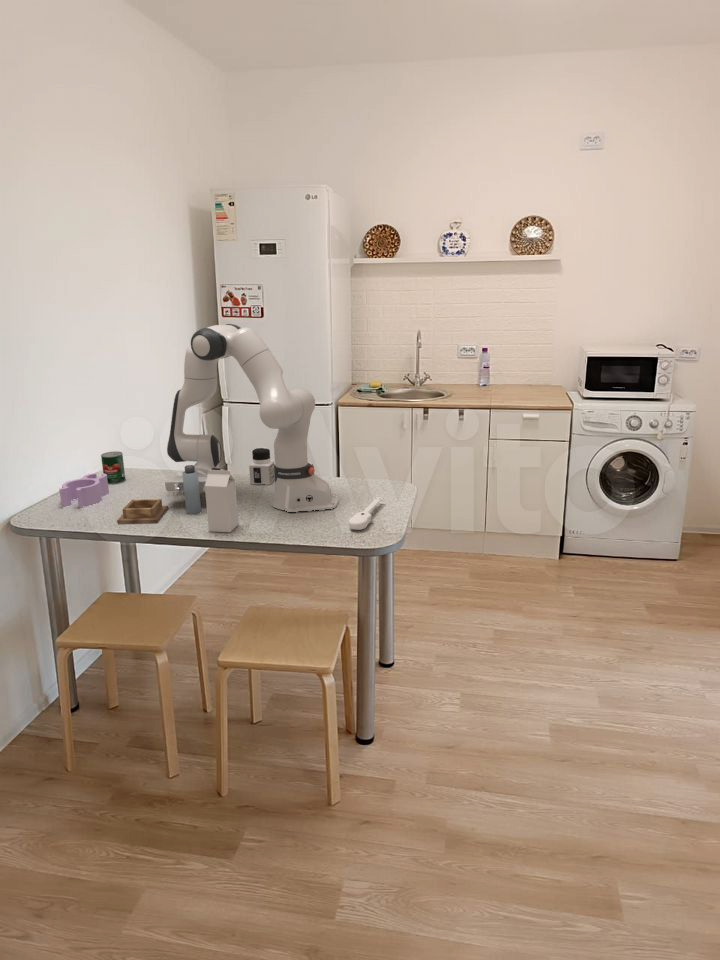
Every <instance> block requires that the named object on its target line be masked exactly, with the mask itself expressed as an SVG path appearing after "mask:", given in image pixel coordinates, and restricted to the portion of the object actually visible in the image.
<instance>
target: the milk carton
mask: <svg viewBox="0 0 720 960" xmlns="http://www.w3.org/2000/svg"><path fill="white" fill-rule="evenodd" d="M223 470H224V469H223ZM223 470H208V476H207V480H206V483H205V492H204V493H205V501H206V502H205V504H206V513H207V514H206V515H207V525H208V532H214V533H215V532H216V533H231V532H232V531H233V530H235V528H237V526H239V516H238V515H239V514H238V502H237V490H236V479H235V478H234V477H233V476H232V473H231V470H224V471H223Z"/></svg>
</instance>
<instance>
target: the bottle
mask: <svg viewBox="0 0 720 960" xmlns="http://www.w3.org/2000/svg"><path fill="white" fill-rule="evenodd" d="M194 465H195V464H188V465H187V464H186V465H185V466H184V471H182V472H181V474H182V475H181V476H183V485H184V491H183V493H184V495H183V496H184V503H185V504H184V505H185V512H186V515H189V514H195V515H199V514H201V513H202V504H201V503H202V502H201V493H200V492H201V491H200V490H199V479H198V471H196V470H195V466H194ZM200 512H201V513H200ZM198 513H199V514H198Z"/></svg>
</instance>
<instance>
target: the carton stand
mask: <svg viewBox="0 0 720 960" xmlns="http://www.w3.org/2000/svg"><path fill="white" fill-rule="evenodd" d="M169 509H170V507H169V505H163V501H162V498H155V499H154V498H153V499H152V498H151V499H150V498H149V499H131V500H130V501H129V502H128V503H127V504H126V505H125V506H124V507H123V508H122V515H121V516H120V517H119V518H118V519H117V520H116V524H117V523H118V524H117V525H132V524H133V525H136V524H139V525H141V524H158V523H159V522H160V521H161V520H162V518H163V517H164V516H165V514H166V513H167V512H168V510H169ZM166 511H167V512H166ZM163 515H164V516H163Z"/></svg>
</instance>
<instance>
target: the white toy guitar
mask: <svg viewBox="0 0 720 960" xmlns="http://www.w3.org/2000/svg"><path fill="white" fill-rule="evenodd" d="M383 500H384V497H380V496H379V497H378V496H377V497H374V498H373V500H372V501H371V502H370V503H369V505H368V506H366V508H365V509H364V510H362V511H358V512H356V513H355V514H354V515H353V516H351V517H350V518H349V520H348V527H349V530H354V531H355V530H356V531H362V530H364V529H366V528H367V527H368V526H369V524H371V523H372V522H371V521H372V513H370V512H371V511H372V510H373V509H374V508H375V507H376V506H377V505H378V504H379V503H380V502H383Z"/></svg>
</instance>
